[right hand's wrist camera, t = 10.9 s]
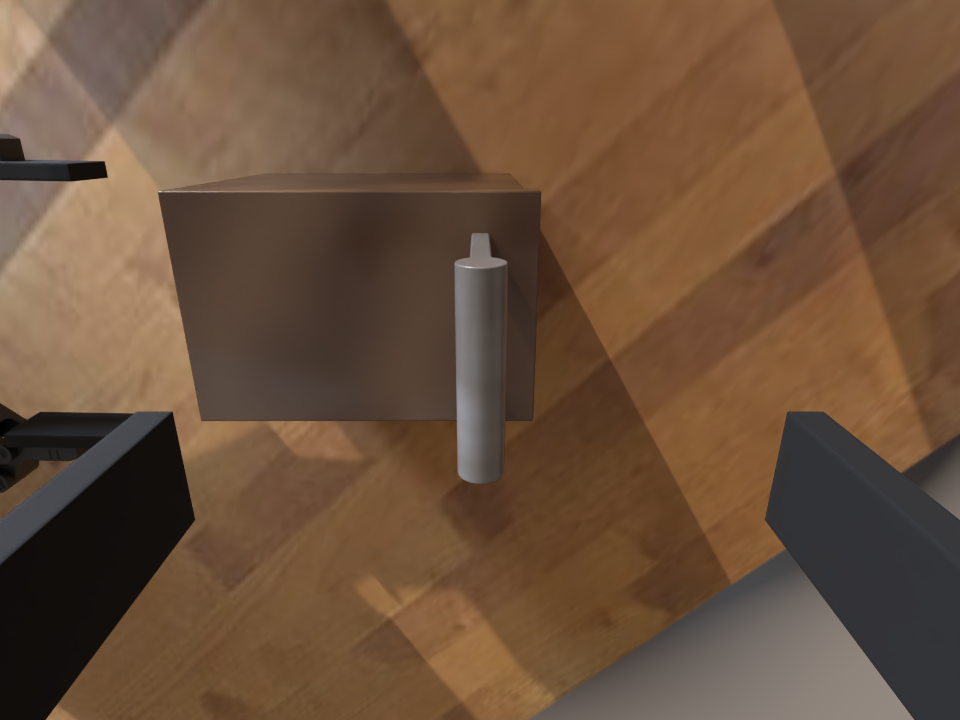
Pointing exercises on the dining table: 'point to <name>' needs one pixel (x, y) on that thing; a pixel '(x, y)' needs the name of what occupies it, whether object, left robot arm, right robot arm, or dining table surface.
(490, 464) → the lid
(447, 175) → the chest
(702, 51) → the dining table surface
